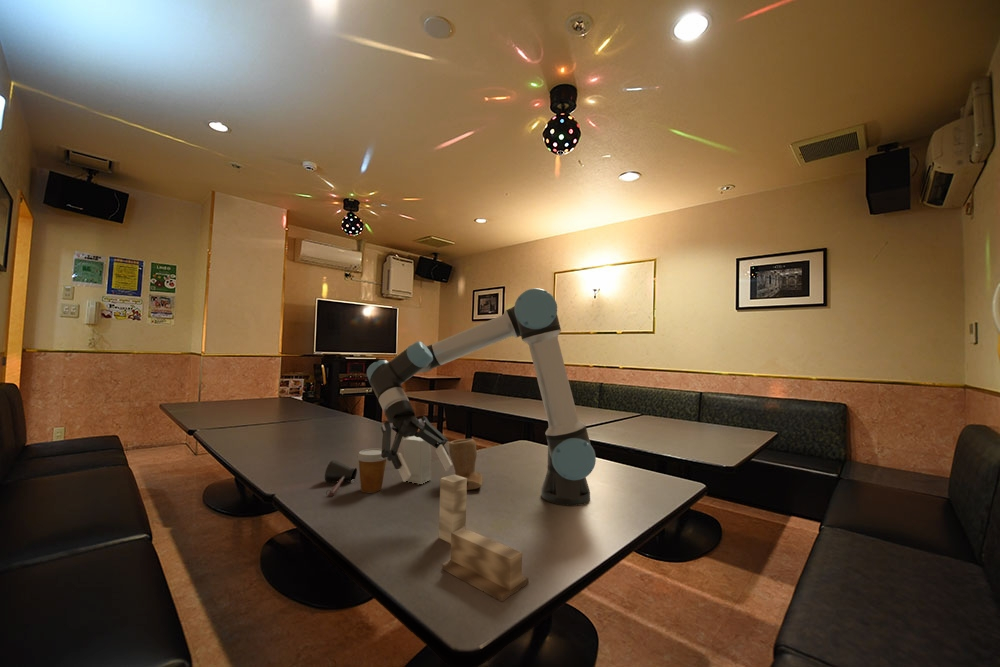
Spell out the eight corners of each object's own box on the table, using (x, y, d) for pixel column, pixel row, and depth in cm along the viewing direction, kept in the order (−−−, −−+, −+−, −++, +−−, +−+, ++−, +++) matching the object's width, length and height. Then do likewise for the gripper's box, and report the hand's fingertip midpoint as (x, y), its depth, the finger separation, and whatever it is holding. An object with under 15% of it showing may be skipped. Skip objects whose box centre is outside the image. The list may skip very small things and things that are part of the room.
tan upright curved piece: (449, 477, 143) (451, 434, 144) (483, 477, 143) (484, 435, 144) (444, 491, 128) (445, 444, 129) (481, 492, 128) (482, 445, 129)
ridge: (442, 569, 82) (443, 536, 82) (469, 554, 88) (470, 524, 88) (502, 601, 71) (502, 564, 72) (528, 582, 77) (529, 548, 78)
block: (452, 531, 99) (454, 474, 100) (465, 537, 96) (467, 478, 97) (438, 537, 96) (440, 478, 96) (451, 543, 93) (453, 482, 93)
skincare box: (431, 481, 138) (432, 437, 139) (419, 485, 133) (421, 440, 134) (412, 477, 142) (414, 434, 143) (400, 481, 137) (402, 437, 138)
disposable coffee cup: (393, 488, 129) (394, 451, 130) (369, 497, 121) (370, 456, 122) (373, 483, 135) (374, 446, 135) (349, 490, 127) (350, 452, 127)
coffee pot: (333, 476, 139) (356, 481, 139) (305, 501, 122) (332, 507, 121) (336, 455, 139) (359, 460, 138) (308, 478, 121) (335, 483, 121)
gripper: (425, 411, 123) (457, 471, 113) (350, 420, 104) (380, 492, 94) (437, 396, 120) (471, 455, 110) (362, 402, 101) (394, 474, 91)
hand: (429, 473), depth 102 cm, fingers open, 13 cm apart
